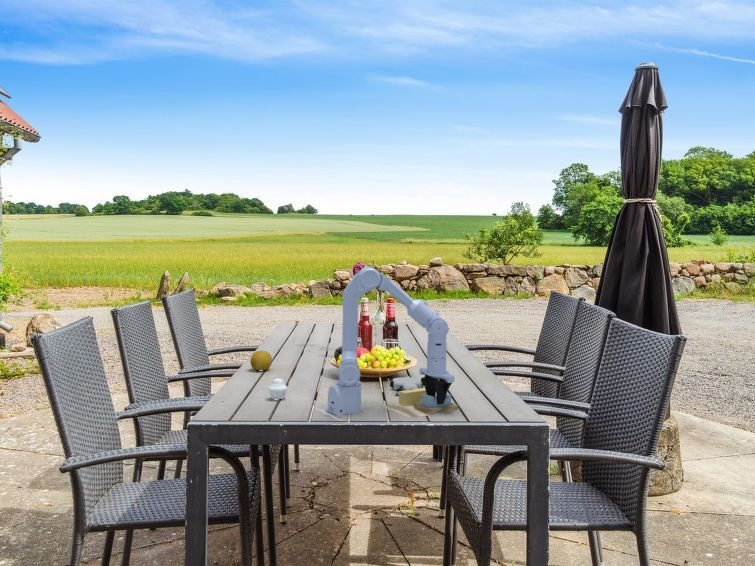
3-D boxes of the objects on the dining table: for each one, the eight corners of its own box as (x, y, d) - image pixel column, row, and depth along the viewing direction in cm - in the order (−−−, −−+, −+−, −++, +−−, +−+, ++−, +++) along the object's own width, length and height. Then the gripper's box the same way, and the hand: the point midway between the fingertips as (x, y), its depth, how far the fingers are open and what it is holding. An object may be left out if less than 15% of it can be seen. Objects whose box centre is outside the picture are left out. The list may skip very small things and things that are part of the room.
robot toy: (430, 401, 207) (421, 388, 222) (431, 388, 206) (422, 375, 221) (393, 402, 205) (387, 388, 220) (394, 388, 205) (387, 376, 220)
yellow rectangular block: (404, 406, 192) (404, 393, 192) (398, 404, 195) (398, 391, 195) (430, 402, 198) (430, 389, 198) (424, 400, 200) (424, 387, 200)
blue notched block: (442, 405, 193) (442, 392, 193) (450, 408, 189) (451, 394, 189) (421, 408, 188) (421, 394, 188) (429, 411, 185) (430, 397, 185)
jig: (411, 421, 179) (411, 412, 179) (381, 409, 192) (381, 401, 192) (459, 413, 189) (460, 404, 189) (428, 402, 202) (428, 394, 202)
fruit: (269, 373, 247) (269, 352, 246) (248, 372, 247) (248, 352, 246) (273, 368, 255) (273, 349, 255) (253, 368, 256) (253, 349, 255)
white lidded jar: (266, 398, 206) (266, 376, 205) (284, 396, 208) (284, 375, 208) (270, 402, 200) (270, 380, 199) (289, 400, 202) (289, 379, 202)
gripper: (462, 359, 184) (462, 405, 185) (432, 352, 196) (431, 395, 197) (443, 362, 180) (443, 408, 181) (414, 354, 192) (413, 398, 193)
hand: (436, 402), depth 189 cm, fingers closed on blue notched block, 4 cm apart
